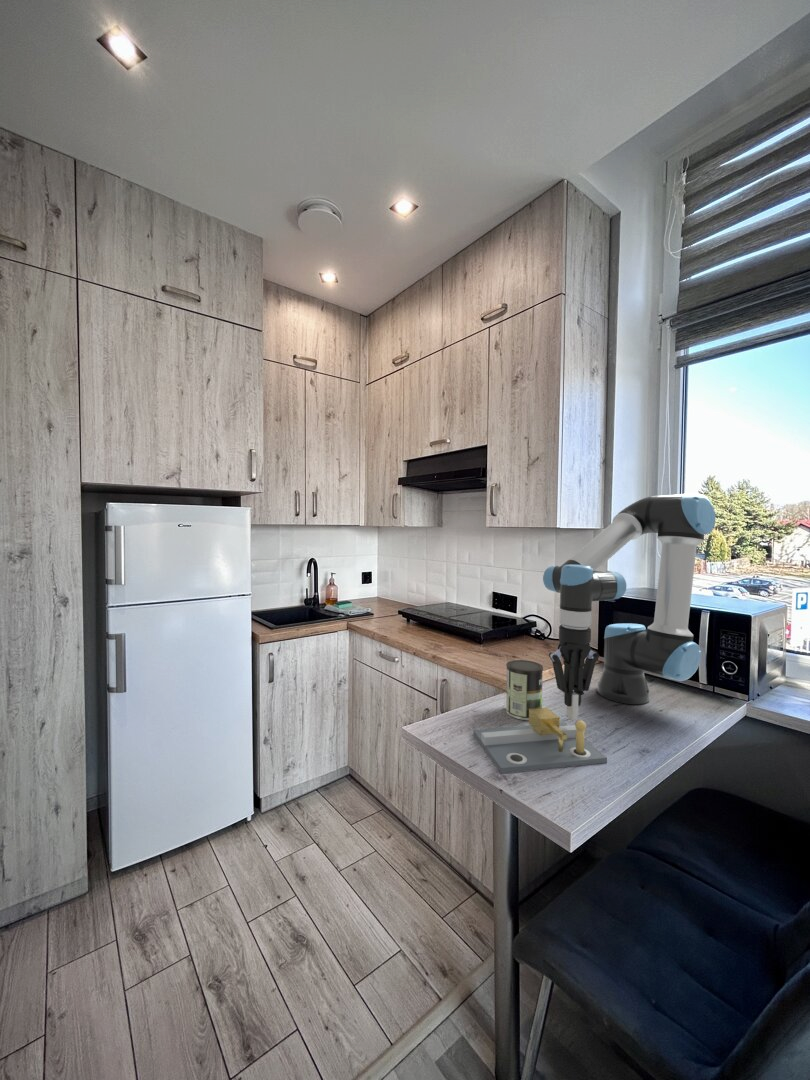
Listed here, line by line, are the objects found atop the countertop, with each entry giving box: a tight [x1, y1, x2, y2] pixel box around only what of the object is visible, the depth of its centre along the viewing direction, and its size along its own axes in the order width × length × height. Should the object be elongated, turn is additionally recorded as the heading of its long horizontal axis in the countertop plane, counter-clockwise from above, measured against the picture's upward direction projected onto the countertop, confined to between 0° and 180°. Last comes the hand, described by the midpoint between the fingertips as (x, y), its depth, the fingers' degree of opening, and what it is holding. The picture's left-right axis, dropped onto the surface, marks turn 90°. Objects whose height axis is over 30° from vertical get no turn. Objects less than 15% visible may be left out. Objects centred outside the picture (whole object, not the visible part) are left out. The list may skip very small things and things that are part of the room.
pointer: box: [528, 707, 567, 752], centre depth 105 cm, size 5×12×6 cm, turn 11°
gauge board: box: [472, 719, 608, 774], centre depth 106 cm, size 26×18×9 cm
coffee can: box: [505, 659, 544, 721], centre depth 125 cm, size 10×10×14 cm
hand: (572, 717), depth 110 cm, fingers closed
